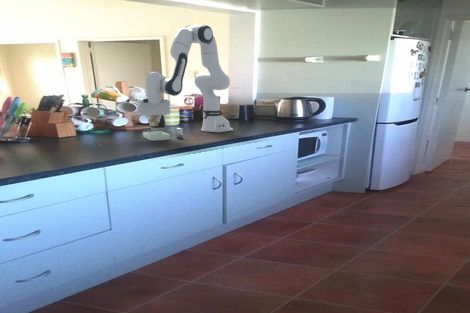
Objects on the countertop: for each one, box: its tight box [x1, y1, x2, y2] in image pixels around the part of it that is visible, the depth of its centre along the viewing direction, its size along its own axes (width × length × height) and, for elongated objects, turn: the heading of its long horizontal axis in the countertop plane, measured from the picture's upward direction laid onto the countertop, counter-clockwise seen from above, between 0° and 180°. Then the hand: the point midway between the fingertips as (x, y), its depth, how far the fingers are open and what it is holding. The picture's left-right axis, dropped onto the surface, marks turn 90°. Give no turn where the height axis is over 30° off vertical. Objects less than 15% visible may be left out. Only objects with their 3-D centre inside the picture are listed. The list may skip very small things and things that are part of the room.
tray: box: [142, 131, 171, 142], centre depth 219 cm, size 12×14×3 cm
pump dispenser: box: [149, 115, 167, 132], centre depth 240 cm, size 10×10×15 cm
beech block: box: [148, 115, 158, 127], centre depth 220 cm, size 4×4×6 cm
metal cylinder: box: [175, 127, 184, 140], centre depth 222 cm, size 4×4×6 cm
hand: (153, 122), depth 220 cm, fingers closed on beech block, 4 cm apart
